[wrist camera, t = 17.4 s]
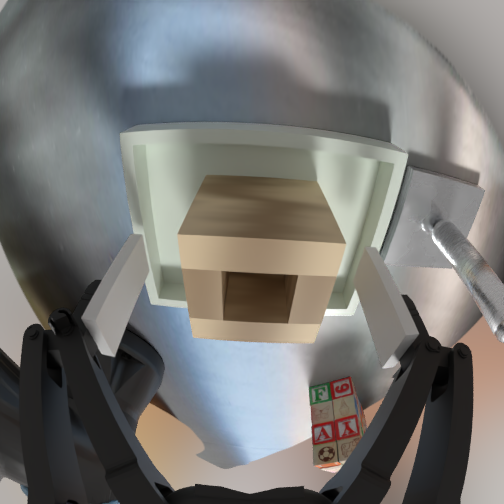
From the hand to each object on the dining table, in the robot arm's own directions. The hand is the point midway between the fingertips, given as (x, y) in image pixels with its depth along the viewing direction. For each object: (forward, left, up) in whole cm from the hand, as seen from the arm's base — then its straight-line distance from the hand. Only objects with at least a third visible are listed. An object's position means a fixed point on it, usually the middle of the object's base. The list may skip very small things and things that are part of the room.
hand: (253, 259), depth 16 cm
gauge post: (+14, +2, -4) cm, 15 cm away
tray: (0, 0, -4) cm, 4 cm away
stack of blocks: (+17, -33, -5) cm, 37 cm away
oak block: (0, 0, -4) cm, 4 cm away
